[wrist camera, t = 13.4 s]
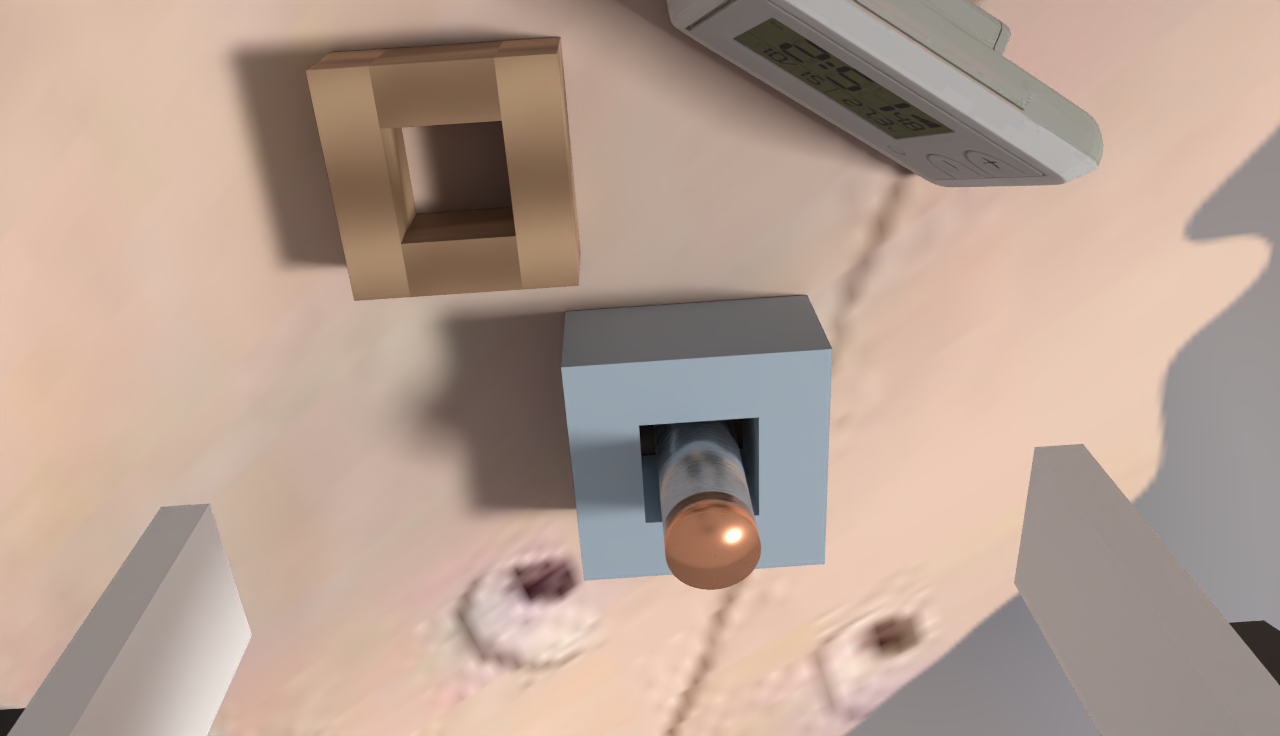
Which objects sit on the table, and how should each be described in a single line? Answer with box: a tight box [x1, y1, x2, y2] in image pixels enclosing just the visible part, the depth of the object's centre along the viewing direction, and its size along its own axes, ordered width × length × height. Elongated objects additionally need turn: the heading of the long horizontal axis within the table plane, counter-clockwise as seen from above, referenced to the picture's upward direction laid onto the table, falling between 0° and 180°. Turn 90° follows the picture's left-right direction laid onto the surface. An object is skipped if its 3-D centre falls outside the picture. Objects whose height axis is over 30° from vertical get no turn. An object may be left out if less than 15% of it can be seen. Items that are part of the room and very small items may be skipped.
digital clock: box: [666, 0, 1103, 187], centre depth 38 cm, size 16×9×11 cm, turn 49°
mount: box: [306, 37, 580, 301], centre depth 43 cm, size 10×10×4 cm
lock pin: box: [654, 419, 761, 590], centre depth 46 cm, size 4×4×12 cm
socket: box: [561, 295, 832, 580], centre depth 49 cm, size 12×12×6 cm
